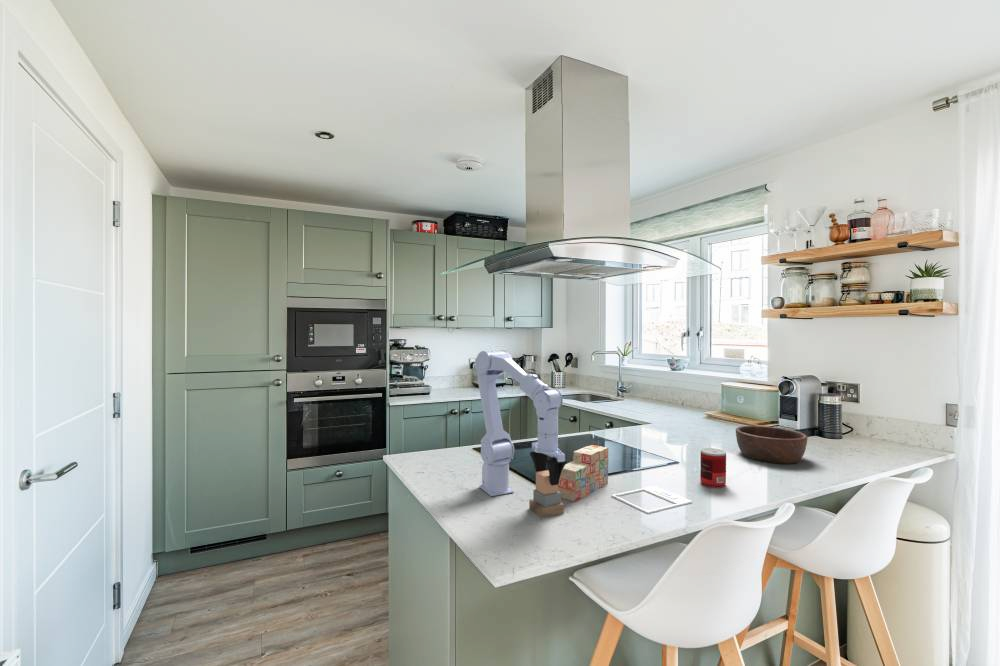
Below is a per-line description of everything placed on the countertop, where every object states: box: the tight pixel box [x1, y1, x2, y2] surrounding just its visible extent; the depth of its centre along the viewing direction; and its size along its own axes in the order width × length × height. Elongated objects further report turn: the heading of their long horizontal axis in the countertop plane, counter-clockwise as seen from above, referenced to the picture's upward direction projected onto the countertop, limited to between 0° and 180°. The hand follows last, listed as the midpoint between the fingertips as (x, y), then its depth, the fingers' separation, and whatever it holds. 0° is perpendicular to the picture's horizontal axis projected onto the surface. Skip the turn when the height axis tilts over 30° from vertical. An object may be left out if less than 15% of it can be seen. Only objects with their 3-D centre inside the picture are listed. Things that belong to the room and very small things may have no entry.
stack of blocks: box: [558, 444, 609, 502], centre depth 146 cm, size 21×6×12 cm, turn 140°
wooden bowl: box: [735, 425, 808, 464], centre depth 186 cm, size 25×25×10 cm
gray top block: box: [532, 488, 562, 507], centre depth 129 cm, size 6×6×3 cm
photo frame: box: [611, 485, 693, 515], centre depth 138 cm, size 15×1×18 cm
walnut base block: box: [529, 498, 565, 519], centre depth 129 cm, size 7×7×3 cm
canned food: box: [700, 447, 727, 489], centre depth 153 cm, size 8×8×11 cm
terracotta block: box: [535, 469, 558, 495], centre depth 129 cm, size 4×4×5 cm
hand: (547, 480), depth 129 cm, fingers open, 7 cm apart
